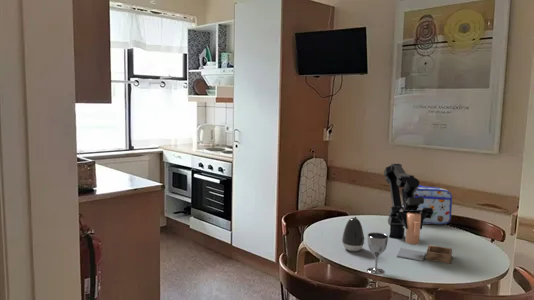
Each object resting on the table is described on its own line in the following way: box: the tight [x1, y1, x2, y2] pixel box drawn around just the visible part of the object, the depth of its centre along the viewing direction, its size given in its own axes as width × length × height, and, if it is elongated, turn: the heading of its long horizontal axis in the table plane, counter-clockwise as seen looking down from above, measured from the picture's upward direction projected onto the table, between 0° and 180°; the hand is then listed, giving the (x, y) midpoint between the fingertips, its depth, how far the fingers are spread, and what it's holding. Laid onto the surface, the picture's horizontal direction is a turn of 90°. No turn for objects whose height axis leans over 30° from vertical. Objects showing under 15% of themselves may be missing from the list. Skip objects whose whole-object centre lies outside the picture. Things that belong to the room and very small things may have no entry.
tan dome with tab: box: [404, 212, 421, 245], centre depth 187 cm, size 9×6×13 cm
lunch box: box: [402, 184, 453, 225], centre depth 242 cm, size 28×10×22 cm, turn 78°
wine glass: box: [366, 232, 389, 275], centre depth 171 cm, size 8×8×15 cm
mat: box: [396, 247, 427, 262], centre depth 190 cm, size 11×11×1 cm
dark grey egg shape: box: [341, 216, 365, 252], centre depth 195 cm, size 10×10×15 cm
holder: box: [425, 244, 453, 264], centre depth 188 cm, size 10×10×4 cm
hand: (414, 228), depth 187 cm, fingers closed on tan dome with tab, 6 cm apart
